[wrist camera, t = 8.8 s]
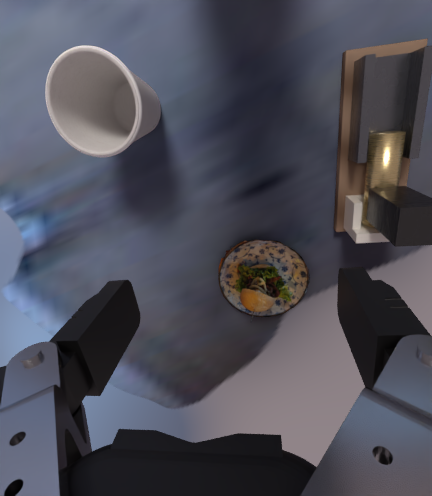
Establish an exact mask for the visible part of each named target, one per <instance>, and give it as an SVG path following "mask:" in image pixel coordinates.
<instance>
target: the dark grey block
mask: <svg viewBox="0 0 432 496" xmlns="http://www.w3.org/2000/svg"><path fill="white" fill-rule="evenodd" d="M405 134H406V131H387V132H377V133H371V134H369V145H368V156H367V167H366V179H365V190H364V201H363V212H362V224H364V225H366V226H369V227H375V228H376V229H377V230H378V231H379V232H380V233H381V234H382V235H383V236H384V237H385V238H387V239H388V240H389V241H390V242H391V243H392V244H393V245H394V246H417V245H432V198H430V197H428V196H426V195H424V194H421V193H419V192H417V191H415V190H413V189H411V188H408V187H406V186H399V179H400V172H401V164H402V157H403V149H404V142H405Z"/></svg>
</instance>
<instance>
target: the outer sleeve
mask: <svg viewBox="0 0 432 496" xmlns="http://www.w3.org/2000/svg"><path fill="white" fill-rule="evenodd" d="M431 73H432V46H425V47H423V48H420V49H418V50H416V51H413V52H411V53H404V54H397V55H390V56H383V57H376V54H369V55H365V56H363V57H361V58H360V59H358V60H356V61H355V62H354V74H353V89H352V105H351V120H350V136H349V151H348V159H349V160H351V161H353V162H356V163H366V160H367V156H368V145H369V134H371V133H377V132H387V131H406V134H405V142H404V149H403V157H404V158H408V159H413V158H419V151H420V145H421V138H422V132H423V125H424V119H425V112H426V106H427V99H428V93H429V86H430V80H431Z"/></svg>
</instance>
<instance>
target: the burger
mask: <svg viewBox="0 0 432 496" xmlns="http://www.w3.org/2000/svg"><path fill="white" fill-rule="evenodd" d="M226 252H227V253H226V255H225V257H224V258H222V259H221V262H220V265H219V273H218V274H219V278H218V279H219V286H220V289H221V292H222V294H223V296H224V297H225V299H226V300H227V301H228V302H229V303H230V304H231V305H232V306H233V307H235V308H236V309H237V310H239V311H240V312H243V313H245V314H248V315H251V316H252V318H253V316H256V317H271V316H277V315H280V314H283V313H285V312H287V311H288V310H290V309H292V308H293V307H295V306H296V305H297V304H298V303H299V302H300V301H301V299H302V298H303V296H304V294H305V293H306V291H307V288H308V284H309V278H310V275H309V269H308V267H307V266H306V264H305V263H304V260H303V258H302V257H301V256H300V255H299V254H298V253H297V252H296V251H295V250H293V249H292V248H290V247H288V246H286V245H284V244H283V243H281V242H279V241H269V240H252V241H243V242H240V243H239V244H237V245H236V246H234V247H233V248H231V250H229V251H226ZM251 322H252V319H251Z"/></svg>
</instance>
